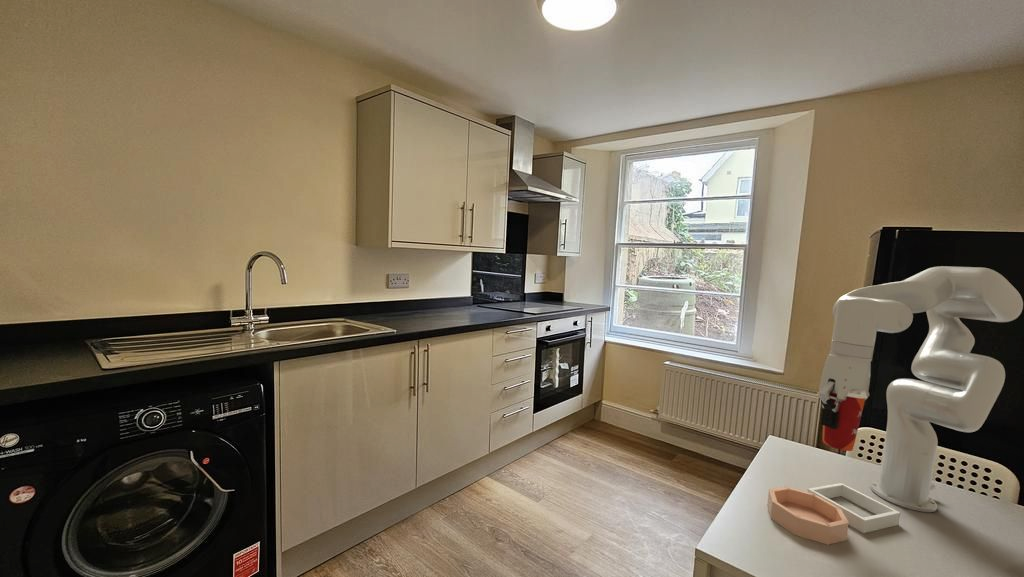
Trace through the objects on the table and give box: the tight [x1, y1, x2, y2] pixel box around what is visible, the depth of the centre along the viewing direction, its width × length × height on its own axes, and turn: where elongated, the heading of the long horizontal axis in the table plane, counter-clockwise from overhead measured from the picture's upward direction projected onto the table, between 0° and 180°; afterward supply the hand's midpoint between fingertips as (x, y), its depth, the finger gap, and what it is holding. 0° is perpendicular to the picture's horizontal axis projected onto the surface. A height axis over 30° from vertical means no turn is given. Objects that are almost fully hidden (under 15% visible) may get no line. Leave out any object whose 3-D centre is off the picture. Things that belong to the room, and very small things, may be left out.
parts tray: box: [806, 482, 901, 534], centre depth 98 cm, size 13×13×3 cm
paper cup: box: [822, 389, 868, 452], centre depth 93 cm, size 8×8×14 cm
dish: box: [766, 486, 849, 545], centre depth 92 cm, size 14×14×4 cm
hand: (839, 425), depth 93 cm, fingers closed on paper cup, 6 cm apart
